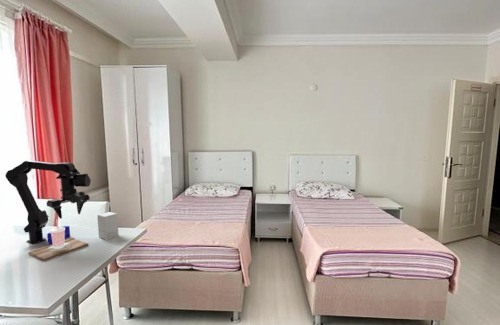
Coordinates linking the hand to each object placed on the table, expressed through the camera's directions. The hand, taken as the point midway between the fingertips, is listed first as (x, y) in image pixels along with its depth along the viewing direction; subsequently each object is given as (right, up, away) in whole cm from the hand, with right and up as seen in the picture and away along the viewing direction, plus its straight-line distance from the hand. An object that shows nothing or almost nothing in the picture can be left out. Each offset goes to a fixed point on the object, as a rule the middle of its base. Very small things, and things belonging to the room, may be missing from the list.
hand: (70, 216), depth 151 cm
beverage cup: (+2, -13, -11) cm, 17 cm away
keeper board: (+2, -14, -11) cm, 18 cm away
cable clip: (-7, -13, +2) cm, 15 cm away
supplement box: (+17, -13, +7) cm, 22 cm away
